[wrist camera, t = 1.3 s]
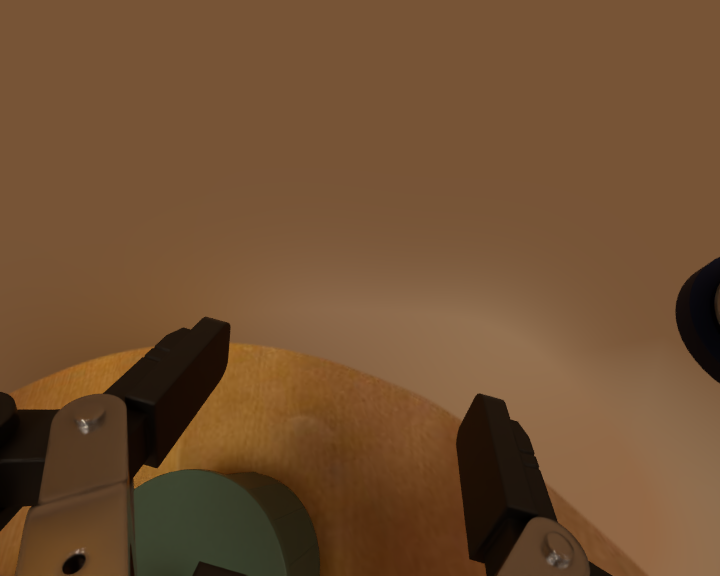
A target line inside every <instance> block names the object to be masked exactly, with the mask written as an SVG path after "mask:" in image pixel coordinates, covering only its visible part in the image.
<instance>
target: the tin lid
mask: <svg viewBox="0 0 720 576" xmlns="http://www.w3.org/2000/svg"><path fill="white" fill-rule="evenodd" d="M134 508H135V537H136V560H137V575H138V576H192V575H193V573H194V571H195V569H196V567H197V565H198V563H199V561H201V562H204V563H208V564H211V565H215V566H218V567H221V568H225V569H228V570H232V571H235V572H239V573H242V574H246V575H247V576H290V570H289V564H288V559H287V555H286V552H285V548H284V544H283V541H282V539H281V536H280V534H279V531H278V529H277V526H276V525H275V523H274V521H273V519H272V517H271V515H270V514H269V512H268V511H267V509H266V508H265V507H264V505H263V504H262V503H261V501H260V500H259V499H258V498H257V497H256V496H255V495H254V494H253V493H252V492H251V491H250V490H249V489H248V488H247V487H245V486H244V485H243V484H241V483H240V482H238V481H237V480H235V479H233V478H231V477H229V476H227V475H224V474H221V473H218V472H215V471H210V470H203V469H187V470H180V471H174V472H169V473H166V474H163V475H160V476H157V477H155V478H153V479H151V480H149V481H147V482H145V483H143V484H142V485H140V486H138V487H137V488H135V489H134Z"/></svg>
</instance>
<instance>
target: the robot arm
mask: <svg viewBox="0 0 720 576" xmlns="http://www.w3.org/2000/svg"><path fill="white" fill-rule="evenodd" d="M711 314H712V319H713V322H714V325H715V327H716V329H717V331H718V333H719V335H720V281H719V282H718V283H717V285H716V286H715V288H714V290H713V293H712V297H711ZM229 341H230V324H229V323H227V322H223V321H220V320H216V319H213V318H209V317H204V318H202V319H201V320H200V321H199V322H198V323H197V324H196V325H195V326H194V327H193V328H192V329H191V330H190V329H187V328H181V329H179V330H177V331H175V332H173V333H170V334H168V335H166V336H165V337H164V338H163V339H162V340H161V341H160V342H159V343H158V344H157V345H155V347H154V348H152V349H151V350H150V351H149V352H148V353H147V354H146V355H145V357H144V358H143V357H142V358H141V359H140V360H139V361H138V362H137V363H136V364H135V365H134V366H133V367H131V368H130V369H129V370H128V371H127V372H126V373H125V374H124V375H123V376H122V377H121V378H120V379H118V380H117V381H116V382H115V383H114V384H113V385H112V386H111V387H110V388H109V389H108V390H106V391H105V392H104V393H103V394H93V395H88V396H84V397H81V398H78V399H76V400H74V401H72V402H70V403H68V404H67V405H65V406H64V407H63V408H62V409H58V410H17V407H16V404H15V401H14V399H13V398H12V397H11V396H10V395H8V394H5V393H3V392H0V531H1V530H2V529H3V528H4V527H5V525H6V524H7V523H8V522H9V521H10V520H11V519H12V518H13V517H14V516H15V514H16V513H17V512H18V511H19V510H20V509H21V508H22V507H23V506H32V507H31V508H30V509H29V511H28V513H27V516H26V520H25V524H24V530H23V535H22V540H21V546H20V551H19V556H18V562H17V567H16V572H15V576H138V575H137V560H136V537H135V508H134V480H133V477H134V476H135V475H136V473H137V472H138V471H139V469H140V468H141V467H142V465H143V464H144V465H147V466H151V467H154V468H158V467H159V466H160V464H161V463H162V461H163V460H164V459H165V457H166V456H167V454H168V453H169V452H170V450H171V449H172V447H173V446H174V445H175V443H176V442H177V440H178V439H179V438H180V436H181V435H182V433H183V432H184V431H185V429H186V428H187V426H188V425H189V424H190V422H191V421H192V419H193V418H194V417H195V415H196V414H197V412H198V411H199V410H200V408H201V407H202V405H203V404H204V403H205V401H206V400H207V398H208V397H209V396H210V394H211V393H212V391H213V390H214V389H215V387H216V386H217V384H218V383H219V382H220V380H221V378H222V377H223V375H224V372H225V370H226V367H227V363H228V353H229ZM456 448H457V456H458V465H459V474H460V482H461V491H462V499H463V508H464V516H465V525H466V533H467V542H468V551H469V559H471V560H474V561H478V562H481V563H485V568H486V575H487V576H612V575H611V574H609V573H607V572H606V571H604V570H602V569H601V568H599V567H597V566H596V565H594V564H593V563H591V562H590V561H588V559H587V556H586V554H585V552H584V550H583V548H582V547H581V545H580V543H579V542H578V541H577V539H576V538H575V537H574V536H573V535H572V534H571V533H570V532H569V531H568V530H567V529H566V528H564V527H563V526H562V525H560V524H559V523H558V521H557V518H556V515H555V512H554V509H553V506H552V503H551V501H550V498H549V495H548V492H547V489H546V486H545V483H544V480H543V477H542V474H541V471H540V470H539V465H538V463H537V459H536V457H535V456H534V450H533V448H532V444H531V442H530V439H529V437H528V435H527V434H526V432H525V431H524V430H523V428H522V427H521V426H520V424H519V423H518V422H517V421H514V420H510V417H509V413H508V410H507V407H506V404H505V402H504V401H503V400H501V399H497V398H494V397H490V396H487V395H483V394H477V395H476V396H475V398H474V400H473V402H472V404H471V406H470V408H469V410H468V412H467V413H466V415H465V417H464V419H463V421H462V423H461V425H460V427H459V430H458V434H457V440H456ZM192 576H247V575H246V574H242V573H239V572H235V571H232V570H228V569H225V568H221V567H218V566H215V565H211V564H208V563H204V562H201V561H199V563H198V565H197V567H196V569H195V571H194V573H193V575H192Z"/></svg>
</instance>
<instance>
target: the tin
mask: <svg viewBox="0 0 720 576" xmlns="http://www.w3.org/2000/svg"><path fill="white" fill-rule="evenodd" d="M225 475H227V476H229V477H231V478H233V479H235V480H237V481H238V482H240V483H241V484H243V485H244V486H245V487H247V488H248V489H249V490H250V491H251V492H252V493H253V494H254V495H255V496H256V497H257V498H258V499H259V500H260V501H261V503H262V504H263V505H264V507H265V508H266V509H267V511H268V512H269V514H270V515H271V517H272V519H273V521H274V523H275V525H276V526H277V529H278V531H279V534H280V536H281V539H282V541H283V544H284V548H285V552H286V555H287V559H288V564H289V570H290V576H320V558H319V548H318V542H317V537H316V533H315V530H314V527H313V524H312V521H311V519H310V517H309V515H308V513H307V511H306V509H305V508H304V506H303V504H302V503H301V501H300V500H299V499H298V498H297V496H296V495H295V494H294V493H293V492H292V491H291V490H290V489H289V488H288V487H286V486H285V485H284V484H282V483H281V482H279V481H277V480H275V479H273V478H271V477H269V476H266V475H262V474H258V473H256V472H247V473H236V474H225Z"/></svg>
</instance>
